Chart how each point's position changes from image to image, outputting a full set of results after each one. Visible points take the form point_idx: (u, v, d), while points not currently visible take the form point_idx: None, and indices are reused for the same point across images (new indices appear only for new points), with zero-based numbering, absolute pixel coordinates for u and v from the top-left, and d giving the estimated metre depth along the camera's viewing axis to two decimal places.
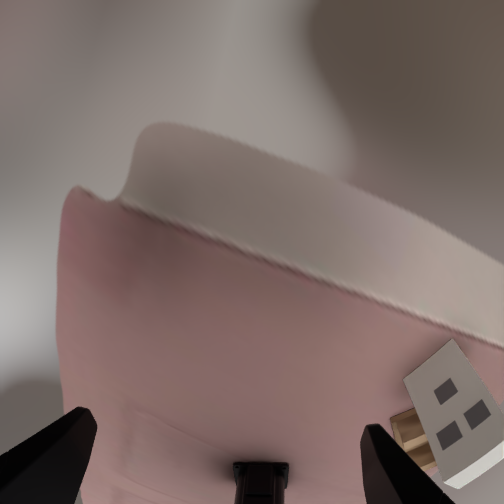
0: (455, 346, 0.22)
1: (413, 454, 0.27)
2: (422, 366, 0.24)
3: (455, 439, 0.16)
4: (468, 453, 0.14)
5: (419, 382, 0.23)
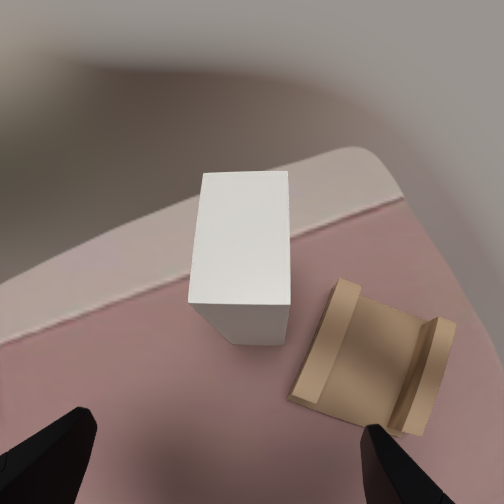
0: None
1: (396, 412, 0.18)
2: None
3: None
4: None
5: None
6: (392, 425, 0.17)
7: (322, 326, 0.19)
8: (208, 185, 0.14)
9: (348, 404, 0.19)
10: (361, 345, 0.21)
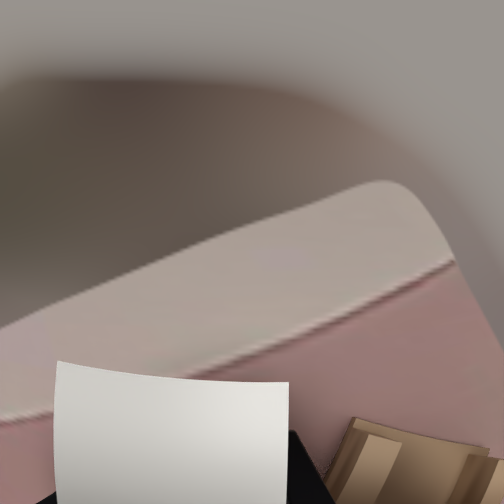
0: None
1: None
2: None
3: None
4: None
5: None
6: None
7: None
8: (68, 403, 0.04)
9: None
10: (387, 494, 0.11)
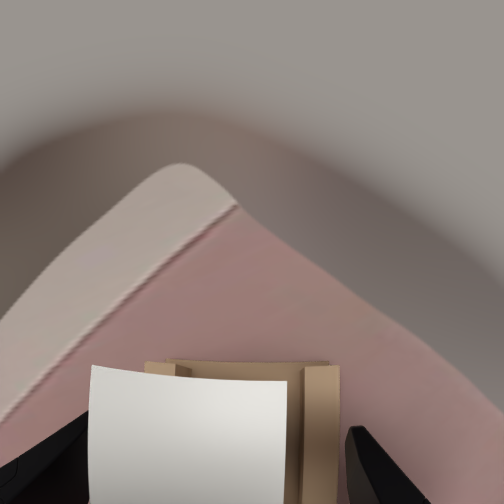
0: None
1: (299, 490, 0.13)
2: None
3: None
4: None
5: None
6: None
7: None
8: (102, 401, 0.05)
9: None
10: None
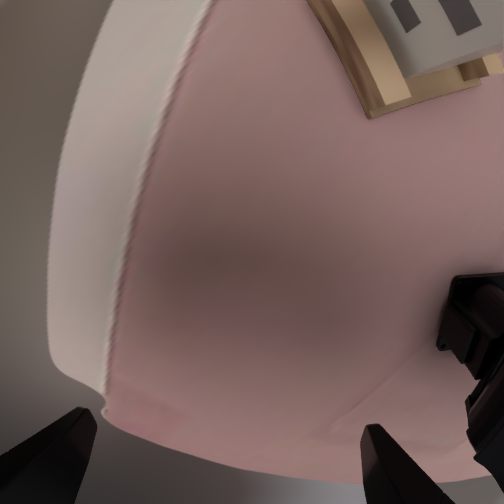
0: None
1: None
2: None
3: None
4: None
5: (400, 55, 0.13)
6: (471, 76, 0.13)
7: (347, 23, 0.12)
8: None
9: (421, 81, 0.15)
10: None
